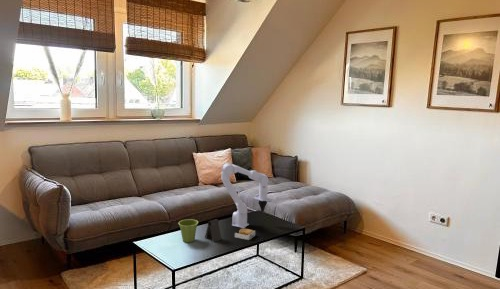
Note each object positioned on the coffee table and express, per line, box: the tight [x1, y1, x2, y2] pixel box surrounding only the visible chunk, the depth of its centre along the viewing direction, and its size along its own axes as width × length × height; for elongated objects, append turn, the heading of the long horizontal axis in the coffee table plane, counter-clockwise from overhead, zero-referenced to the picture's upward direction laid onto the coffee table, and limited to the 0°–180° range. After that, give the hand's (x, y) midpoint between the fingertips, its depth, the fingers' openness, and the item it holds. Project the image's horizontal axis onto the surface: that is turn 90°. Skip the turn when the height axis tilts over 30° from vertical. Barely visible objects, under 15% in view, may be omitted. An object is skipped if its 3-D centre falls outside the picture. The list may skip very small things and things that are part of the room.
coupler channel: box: [234, 228, 256, 241], centre depth 230 cm, size 10×9×3 cm
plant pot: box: [178, 218, 199, 243], centre depth 221 cm, size 12×12×11 cm
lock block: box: [238, 228, 254, 235], centre depth 230 cm, size 7×5×4 cm
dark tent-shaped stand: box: [204, 218, 222, 243], centre depth 224 cm, size 9×6×12 cm, turn 46°
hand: (262, 211), depth 249 cm, fingers closed
